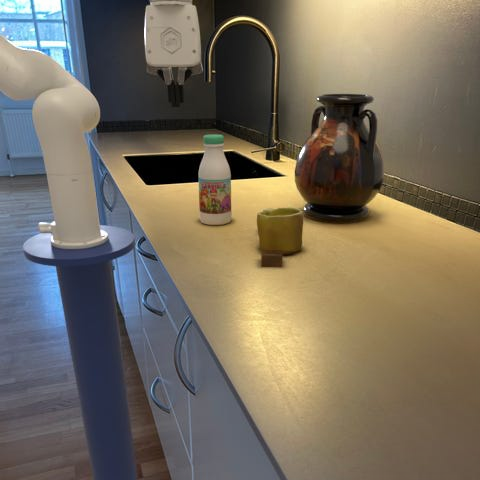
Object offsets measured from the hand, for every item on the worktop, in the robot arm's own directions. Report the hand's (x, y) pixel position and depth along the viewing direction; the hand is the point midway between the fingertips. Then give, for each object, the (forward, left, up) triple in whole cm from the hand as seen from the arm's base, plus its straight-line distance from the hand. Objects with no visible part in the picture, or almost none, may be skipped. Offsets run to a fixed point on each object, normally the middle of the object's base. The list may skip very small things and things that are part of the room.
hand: (176, 106), depth 101 cm
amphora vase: (+36, +20, -27) cm, 49 cm away
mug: (+20, -5, -27) cm, 34 cm away
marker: (+19, -15, -27) cm, 36 cm away
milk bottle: (+6, +14, -27) cm, 31 cm away
